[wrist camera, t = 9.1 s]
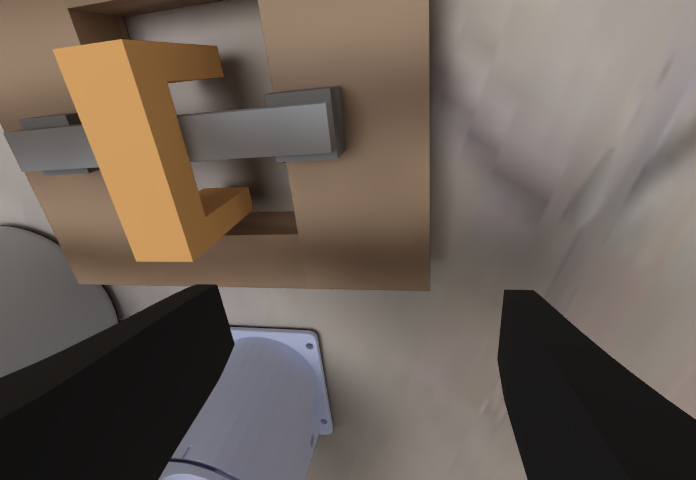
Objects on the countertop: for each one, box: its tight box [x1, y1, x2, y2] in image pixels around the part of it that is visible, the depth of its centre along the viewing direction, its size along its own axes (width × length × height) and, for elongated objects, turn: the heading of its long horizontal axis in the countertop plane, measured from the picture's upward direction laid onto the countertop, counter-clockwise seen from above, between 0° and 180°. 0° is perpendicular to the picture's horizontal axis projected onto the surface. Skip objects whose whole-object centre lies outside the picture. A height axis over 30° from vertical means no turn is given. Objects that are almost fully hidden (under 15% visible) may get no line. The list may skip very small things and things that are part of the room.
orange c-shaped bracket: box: [52, 39, 253, 262], centre depth 15 cm, size 7×2×6 cm, turn 6°
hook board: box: [0, 0, 430, 291], centre depth 16 cm, size 16×20×6 cm
